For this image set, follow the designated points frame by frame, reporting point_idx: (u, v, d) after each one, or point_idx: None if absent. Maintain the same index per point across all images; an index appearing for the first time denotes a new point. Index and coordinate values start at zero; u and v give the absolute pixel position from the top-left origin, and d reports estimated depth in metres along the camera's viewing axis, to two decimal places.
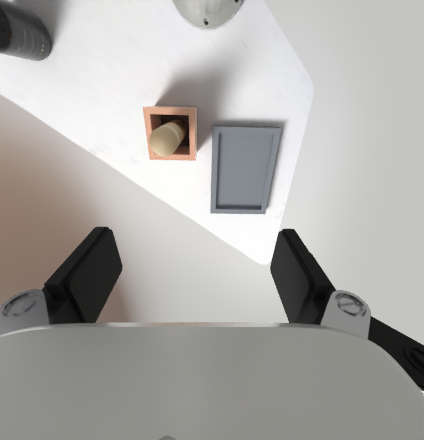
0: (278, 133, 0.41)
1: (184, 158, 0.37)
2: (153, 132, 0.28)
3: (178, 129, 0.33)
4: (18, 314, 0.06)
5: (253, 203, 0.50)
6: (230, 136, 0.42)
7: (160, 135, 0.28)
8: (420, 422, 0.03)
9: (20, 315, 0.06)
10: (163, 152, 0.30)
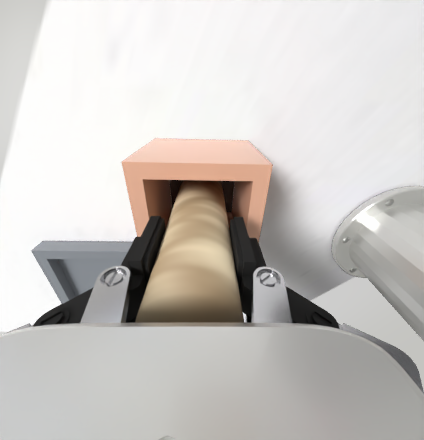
0: None
1: None
2: (228, 308, 0.07)
3: None
4: (109, 285, 0.07)
5: None
6: None
7: None
8: (420, 422, 0.03)
9: (109, 286, 0.07)
10: None
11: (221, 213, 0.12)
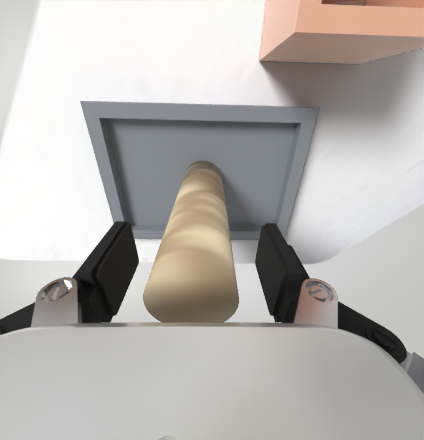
0: None
1: None
2: (224, 283, 0.08)
3: None
4: (53, 299, 0.07)
5: (136, 211, 0.23)
6: (281, 151, 0.20)
7: (214, 298, 0.08)
8: (420, 422, 0.03)
9: (55, 301, 0.07)
10: (158, 300, 0.08)
11: (220, 205, 0.13)
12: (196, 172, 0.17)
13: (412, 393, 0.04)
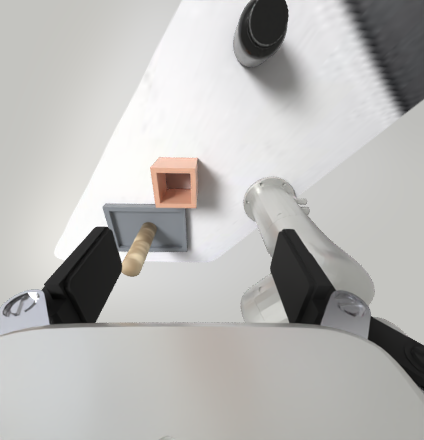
0: (183, 250, 0.56)
1: (156, 198, 0.41)
2: (135, 265, 0.40)
3: None
4: (18, 314, 0.06)
5: (123, 240, 0.55)
6: (178, 219, 0.52)
7: (134, 268, 0.40)
8: (420, 422, 0.03)
9: (20, 315, 0.06)
10: (123, 269, 0.40)
11: (145, 244, 0.45)
12: (142, 230, 0.49)
13: (412, 393, 0.04)
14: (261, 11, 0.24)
